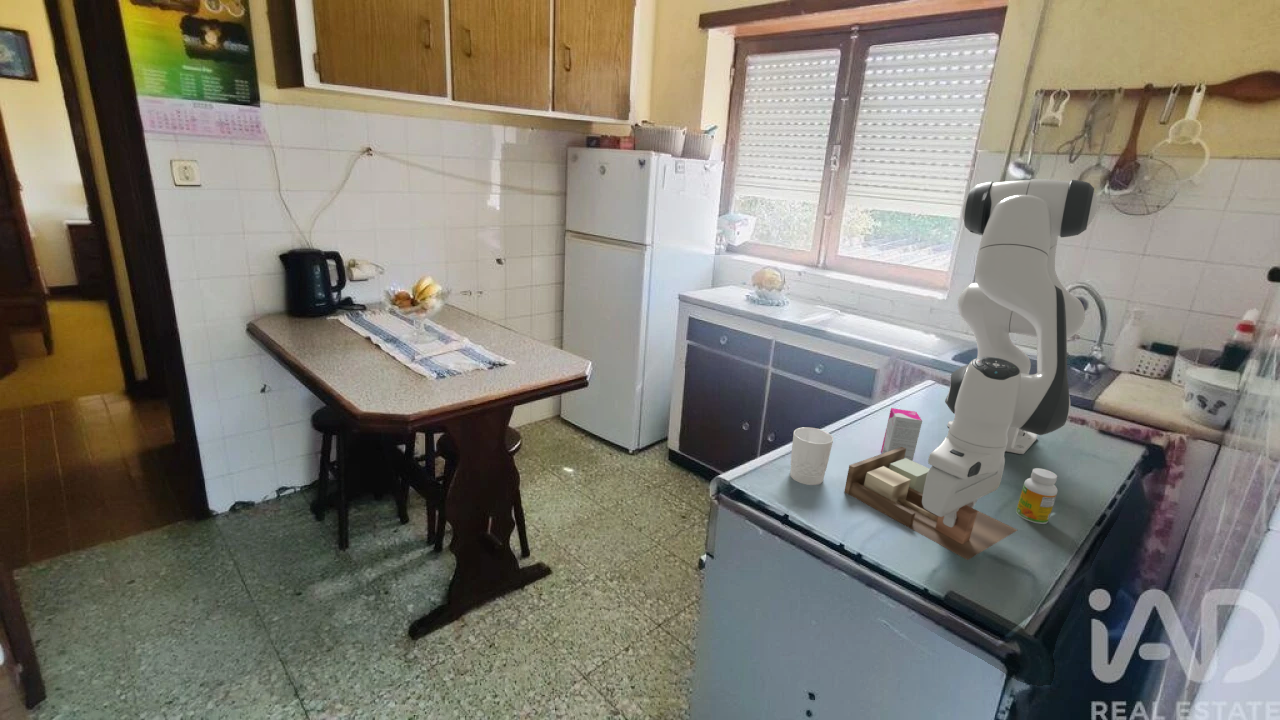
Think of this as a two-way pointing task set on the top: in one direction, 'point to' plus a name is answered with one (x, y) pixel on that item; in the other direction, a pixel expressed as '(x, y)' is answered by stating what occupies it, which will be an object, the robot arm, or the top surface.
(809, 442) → the white cup
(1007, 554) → the top surface
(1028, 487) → the supplement bottle
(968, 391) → the robot arm
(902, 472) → the sage block
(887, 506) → the walnut rack
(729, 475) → the top surface
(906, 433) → the supplement box
